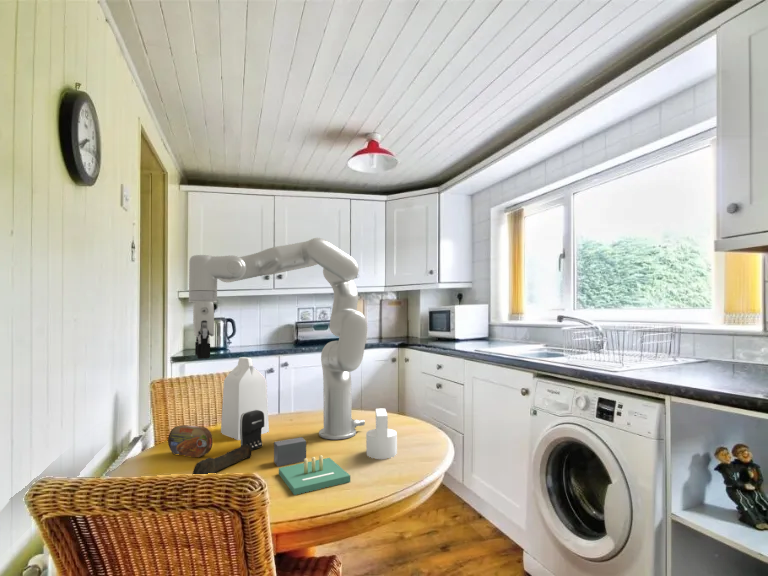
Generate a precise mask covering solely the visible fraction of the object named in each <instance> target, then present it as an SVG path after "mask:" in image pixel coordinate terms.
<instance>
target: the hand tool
mask: <svg viewBox="0 0 768 576" xmlns="http://www.w3.org/2000/svg"><path fill="white" fill-rule="evenodd" d="M251 457H252V451H251V447H250V446H248V445H246V444H244V445H242V446H241V445H240V446H239V447H237V448H235V449H231V450H230V451H227V452H226V453H224V454H222V455H219V456H217V457H214V458H213V457H207V458H205V459H203V460H200V461H198V462H197V463H195V465H194V467H193V471H192V475H193V474H208V473H214V474H215V473H218V472H219V471H221V470H223V469H226V468H227V467H230V466H232V465H234V464H236V463H238V462H239V463H240V461H243V460H245V459H251Z"/></svg>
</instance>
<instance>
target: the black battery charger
mask: <svg viewBox="0 0 768 576" xmlns="http://www.w3.org/2000/svg"><path fill="white" fill-rule="evenodd" d="M262 427H264V413H263V412H262V411H259V410H252V411H248V412H245V413H243V414H242V415H241V419H240V438H241V440H240V447H241V446H242V445H244V444H246V445H248V446H250V447H251V452H253V451H254V450H257V449H260V448H262V447H263V440H262V434H261V429H262Z"/></svg>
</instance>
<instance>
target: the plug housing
mask: <svg viewBox="0 0 768 576" xmlns="http://www.w3.org/2000/svg"><path fill="white" fill-rule="evenodd" d="M305 458H307V441H306V440H305V439H304V437H301V436H300V437H295V438H289V439H284V440H278V441H277V440H276V441H274V442H273V463H274V464H275V465H276V467H278V468H280V467H285V466H290V465H295V464H300V463H304V459H305Z"/></svg>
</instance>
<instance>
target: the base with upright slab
mask: <svg viewBox="0 0 768 576" xmlns="http://www.w3.org/2000/svg"><path fill="white" fill-rule="evenodd" d="M388 418H389V417H388V412H387V410H386V408H381V407H380V408H375V428H373V429H370V430H367V431H366V437H365V439H366V440H365V441H366V442H365V443H366V445H365V446H366V456H367V457H368V456H369V457H368V458H370V457H371V458H370V459H373V458H375V459H374V460H388V459H387V458H389V459H392V458H391V457H393V458H395V457H396V456H397V455H398V433H397V430H394V429H391V428H388V427H389V426H388V423H389V422H388ZM396 454H397V455H396ZM395 455H396V456H395ZM394 456H395V457H394Z"/></svg>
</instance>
